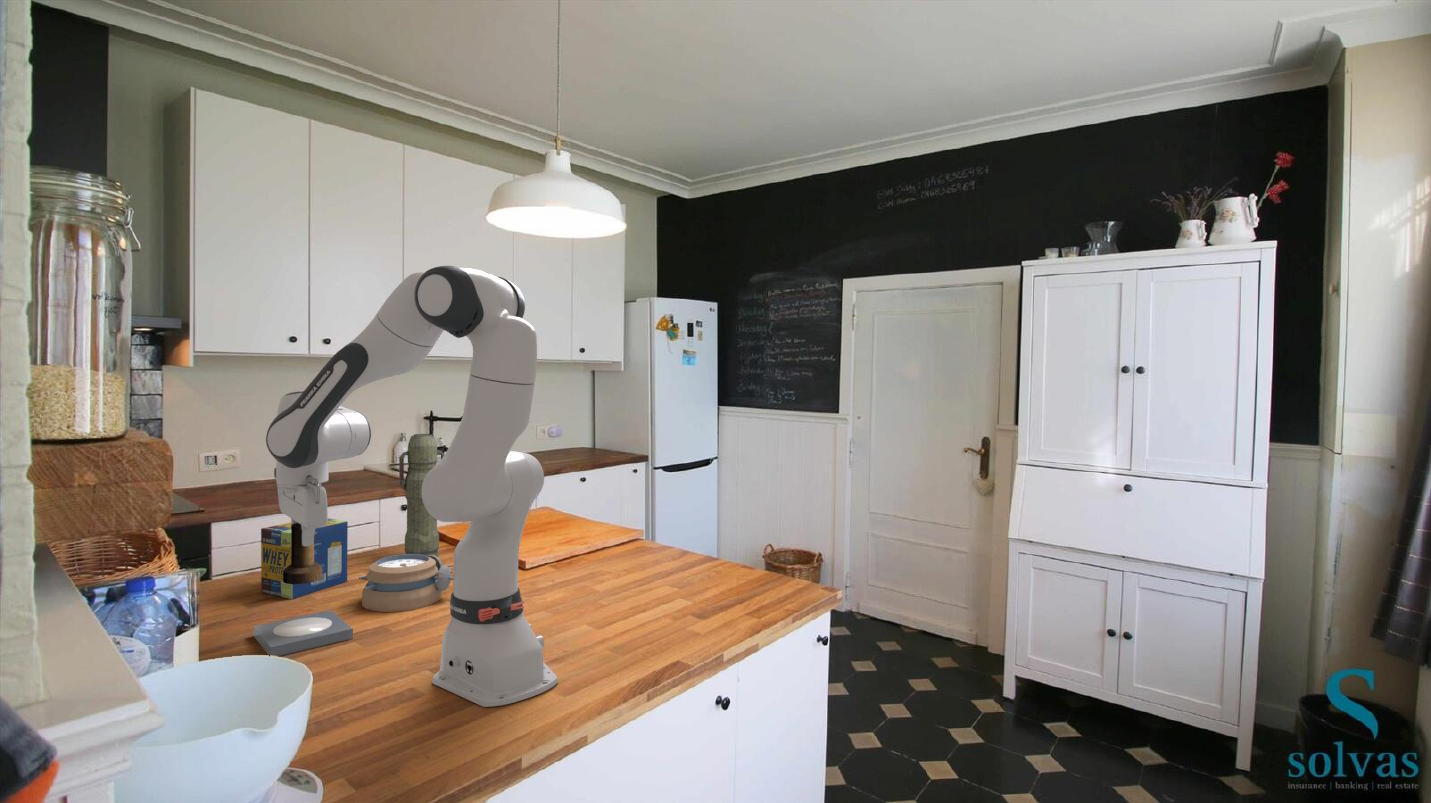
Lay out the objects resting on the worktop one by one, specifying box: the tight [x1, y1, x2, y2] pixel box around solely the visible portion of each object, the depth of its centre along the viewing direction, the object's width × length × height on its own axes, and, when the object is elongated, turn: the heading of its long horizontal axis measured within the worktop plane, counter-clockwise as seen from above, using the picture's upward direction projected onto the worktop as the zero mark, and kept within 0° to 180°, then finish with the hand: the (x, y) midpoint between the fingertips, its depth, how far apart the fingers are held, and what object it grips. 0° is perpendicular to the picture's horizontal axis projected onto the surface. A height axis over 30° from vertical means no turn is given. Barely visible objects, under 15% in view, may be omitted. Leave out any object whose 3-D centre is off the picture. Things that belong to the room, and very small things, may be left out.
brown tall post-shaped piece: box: [283, 495, 322, 584], centre depth 136 cm, size 7×6×18 cm
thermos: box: [398, 433, 445, 558], centre depth 194 cm, size 9×12×35 cm
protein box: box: [260, 517, 349, 600], centre depth 167 cm, size 10×15×16 cm
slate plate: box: [252, 609, 354, 657], centre depth 137 cm, size 14×14×2 cm
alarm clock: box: [358, 553, 454, 613], centre depth 163 cm, size 17×9×23 cm
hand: (302, 542), depth 136 cm, fingers closed on brown tall post-shaped piece, 4 cm apart
